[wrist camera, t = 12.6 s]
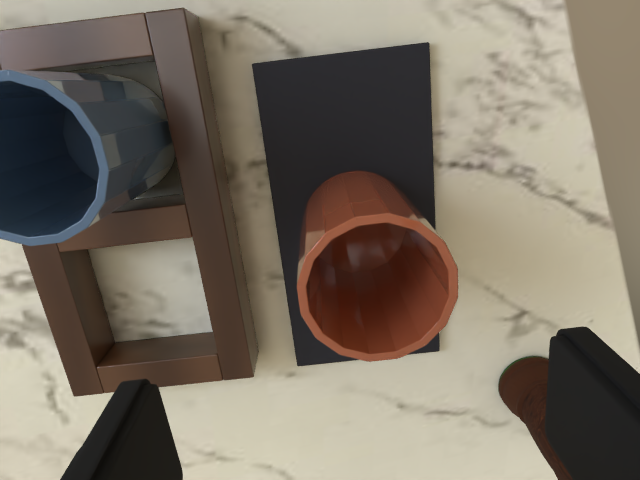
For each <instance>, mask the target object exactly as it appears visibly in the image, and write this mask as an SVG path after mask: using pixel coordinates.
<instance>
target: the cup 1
mask: <svg viewBox="0 0 640 480" xmlns="http://www.w3.org/2000/svg"><path fill="white" fill-rule="evenodd" d="M174 160H175V152H174V147H173V142H172V138H171V133H170V128H169V124H168V119H167V114H166V110H165V105H164V103H163V101H162V100H161V99H160V98H159V97H158V96H157V95H156V94H155V93H154V92H153V91H152V90H151V89H149V88H148V87H146V86H145V85H143V84H141V83H139V82H137V81H135V80H132V79H129V78H125V77H121V76H116V75H109V74H89V73H69V72H49V71H29V70H9V69H6V70H0V239H4V240H8V241H12V242H16V243H20V244H24V245H28V246H36V245H45V244H54V243H62V242H64V241H66V240H68V239H69V238H71V237H73V236H75V235H76V234H78V233H80V232H81V231H83V230H85V229H87V228H88V227H90V226H91V225H93V224H94V223H96V222H98V221H99V220H101V219H102V218H104V217H105V216H107V215H109V214H110V213H112V212H113V211H115V210H116V209H118V208H120V207H121V206H123V205H124V204H126V203H127V202H129V201H130V200H132V199H134V198H135V197H137V196H138V195H140V194H141V193H143V192H145V191H146V190H148V189H149V188H151V187H152V186H154V185H156V184H157V183H159V182H160V181H161V179H162V178H163V177H164V176H165V175H166V174H167V173H168V172H169V170H170V168H171V166H172V164H173V162H174Z"/></svg>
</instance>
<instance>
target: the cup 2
mask: <svg viewBox="0 0 640 480" xmlns="http://www.w3.org/2000/svg"><path fill="white" fill-rule="evenodd" d="M297 293H298V300H299V307H300V313H301V316H302V317H303V319H304V320H305V322H306V324H307V325H308V327H309V328H310V330H311V331H312V333H313V335H314V336H315V338H317V339H318V340H319V341H321V342H322V343H323V344H325V345H326V346H328V347H329V348H331V349H332V350H334V351H335V352H337V353H338V354H340V355H343V356H347V357H351V358H355V359H360V360H364V361H369V362H370V361H379V360H389V359H398V358H401V357H403V356H405V355H407V354H409V353H411V352H413V351H415V350H417V349H419V348H422V347H424V346H425V345H427V344H428V343H429V342H430V341H431V340H432V339H433V338H434V337H435V336H436V335H437V334H438V333H439V332H440V331H441V330H442V329H443V328H444V327H445V326H446V324H447V322H448V320H449V318H450V315H451V313H452V311H453V308H454V306H455V303H456V301H457V299H458V269H457V265H456V263H455V261H454V259H453V257H452V255H451V253H450V251H449V249H448V247H447V245H446V243H445V242H444V240H443V239H442V238H441V237H440V236H439V234H438V233H437V232H436V231H435V230H434V228H433V227H432V226H431V225H430V224H429V223H428V221H427V220H426V219H425V218H424V217H423V215H422V214H421V213H420V212H419V211H418V210H417V208H416V207H415V206H414V205H413V204H412V202H411V201H410V200H409V199H408V198H407V197H406V195H405V194H404V193H403V192H402V191H401V190H400V189H399V188H398V187H397V186H395V185H394V184H393V183H392V182H391V181H389V180H388V179H387V178H385V177H383V176H381V175H379V174H376V173H373V172H368V171H348V172H343V173H340V174H337V175H335V176H333V177H331V178H329V179H328V180H326V181H324V182H323V183H322V184H321V185H320V186H319V187H318V188H317V189H316V190H315V191H314V192H313V194H312V195H311V196H310V198H309V200H308V202H307V204H306V207H305V210H304V214H303V219H302V222H301V235H300V249H299V262H298V275H297Z"/></svg>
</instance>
